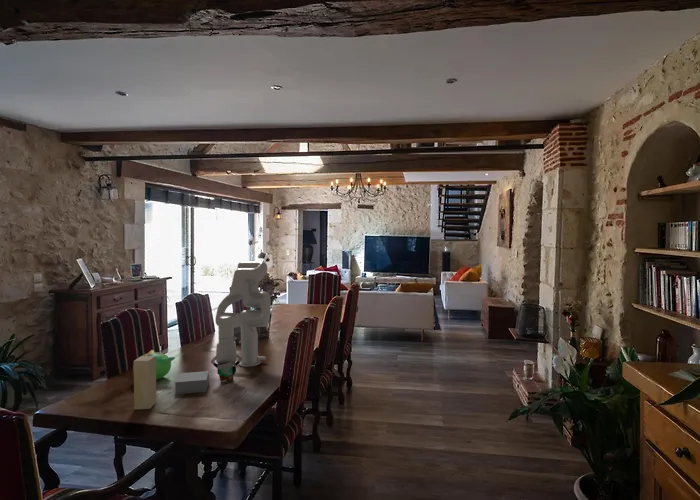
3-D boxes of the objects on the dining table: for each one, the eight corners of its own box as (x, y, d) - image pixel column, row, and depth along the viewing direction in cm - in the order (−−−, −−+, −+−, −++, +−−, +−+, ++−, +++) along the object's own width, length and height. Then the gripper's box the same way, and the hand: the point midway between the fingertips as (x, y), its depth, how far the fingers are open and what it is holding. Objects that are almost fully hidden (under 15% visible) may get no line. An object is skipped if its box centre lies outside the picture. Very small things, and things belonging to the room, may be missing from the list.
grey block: (208, 382, 219) (208, 371, 219) (206, 392, 206) (206, 379, 205) (179, 385, 216) (179, 373, 215) (175, 394, 202) (175, 382, 202)
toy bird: (164, 372, 235) (164, 345, 234) (177, 379, 223) (176, 351, 222) (128, 380, 222) (128, 351, 222) (140, 388, 210) (140, 358, 210)
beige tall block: (139, 402, 191) (139, 355, 191) (156, 402, 192) (156, 355, 191) (132, 409, 183) (131, 361, 183) (149, 409, 184) (149, 360, 183)
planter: (232, 340, 309) (232, 319, 309) (246, 343, 301) (245, 322, 300) (216, 344, 298) (216, 323, 297) (229, 347, 289) (229, 325, 289)
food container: (231, 383, 214) (229, 364, 214) (219, 385, 214) (217, 365, 214) (238, 375, 226) (236, 357, 226) (227, 376, 226) (225, 358, 226)
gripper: (243, 337, 225) (243, 370, 226) (208, 339, 220) (209, 374, 221) (244, 340, 218) (244, 375, 219) (208, 343, 213) (209, 379, 214)
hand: (226, 374), depth 220 cm, fingers open, 6 cm apart
